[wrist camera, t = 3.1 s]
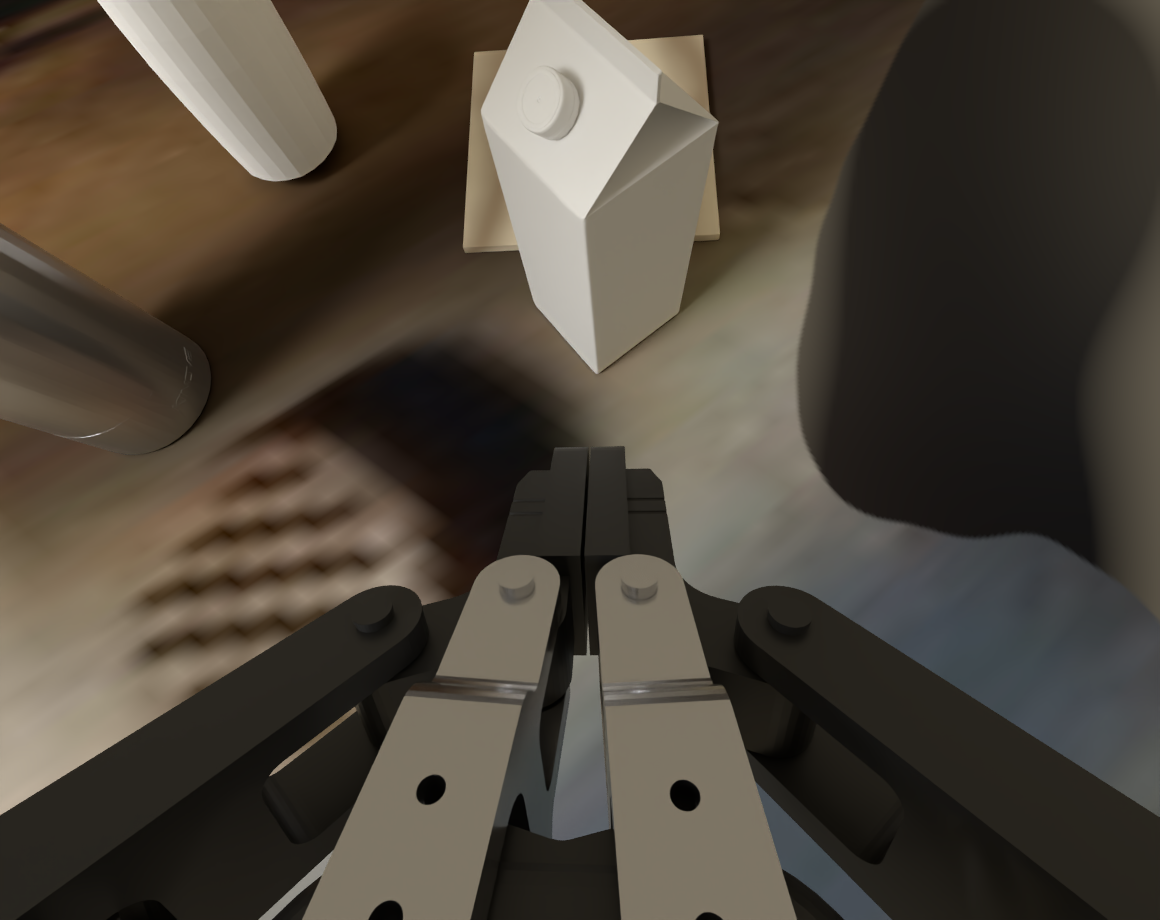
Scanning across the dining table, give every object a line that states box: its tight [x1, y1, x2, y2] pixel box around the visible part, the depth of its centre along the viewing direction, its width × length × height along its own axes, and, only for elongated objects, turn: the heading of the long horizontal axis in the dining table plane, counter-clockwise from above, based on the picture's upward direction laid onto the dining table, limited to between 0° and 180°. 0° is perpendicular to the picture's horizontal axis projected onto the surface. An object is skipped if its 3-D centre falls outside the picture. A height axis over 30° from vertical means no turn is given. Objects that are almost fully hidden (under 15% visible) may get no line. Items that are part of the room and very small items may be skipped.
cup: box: [97, 0, 337, 181], centre depth 35 cm, size 8×8×14 cm
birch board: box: [463, 35, 720, 253], centre depth 40 cm, size 18×18×1 cm
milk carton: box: [481, 0, 719, 374], centre depth 27 cm, size 7×7×19 cm
